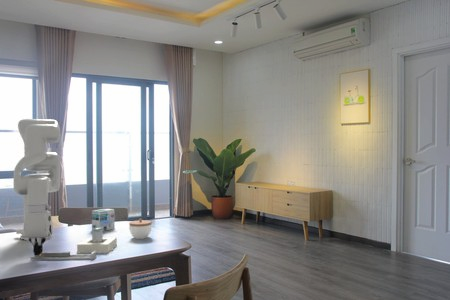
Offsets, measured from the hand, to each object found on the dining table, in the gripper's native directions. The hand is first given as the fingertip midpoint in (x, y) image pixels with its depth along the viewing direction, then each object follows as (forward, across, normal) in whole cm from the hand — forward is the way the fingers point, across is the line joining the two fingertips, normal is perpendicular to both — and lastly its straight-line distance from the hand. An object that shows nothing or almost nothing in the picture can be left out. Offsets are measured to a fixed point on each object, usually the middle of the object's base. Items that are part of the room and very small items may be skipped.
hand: (38, 254), depth 161 cm
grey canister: (+2, -19, -15) cm, 24 cm away
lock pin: (+2, -7, 0) cm, 7 cm away
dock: (+2, -19, -15) cm, 24 cm away
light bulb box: (+2, -8, -58) cm, 59 cm away
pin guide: (+2, -10, 0) cm, 10 cm away
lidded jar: (+2, -33, -37) cm, 50 cm away
